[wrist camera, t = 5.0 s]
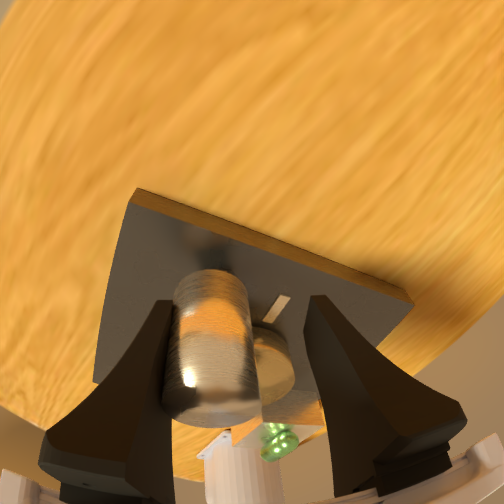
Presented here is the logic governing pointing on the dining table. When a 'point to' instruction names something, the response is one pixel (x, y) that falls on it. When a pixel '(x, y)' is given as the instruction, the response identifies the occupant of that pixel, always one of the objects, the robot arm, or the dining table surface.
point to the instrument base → (259, 296)
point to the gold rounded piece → (220, 355)
